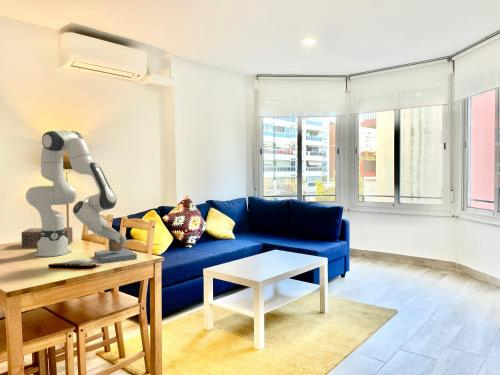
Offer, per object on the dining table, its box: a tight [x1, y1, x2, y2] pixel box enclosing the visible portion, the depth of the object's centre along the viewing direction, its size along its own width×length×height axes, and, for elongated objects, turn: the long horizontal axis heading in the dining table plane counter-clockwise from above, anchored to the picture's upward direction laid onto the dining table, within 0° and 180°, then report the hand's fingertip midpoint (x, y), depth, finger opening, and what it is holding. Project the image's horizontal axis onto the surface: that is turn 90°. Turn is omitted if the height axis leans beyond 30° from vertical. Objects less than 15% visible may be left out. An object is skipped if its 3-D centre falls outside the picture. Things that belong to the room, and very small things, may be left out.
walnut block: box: [108, 233, 123, 252], centre depth 212 cm, size 5×5×9 cm
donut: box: [118, 232, 127, 249], centre depth 233 cm, size 10×4×10 cm, turn 108°
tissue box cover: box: [21, 226, 74, 249], centre depth 245 cm, size 26×14×10 cm, turn 103°
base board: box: [93, 247, 138, 264], centre depth 213 cm, size 18×18×2 cm
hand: (116, 241), depth 213 cm, fingers closed on walnut block, 5 cm apart
